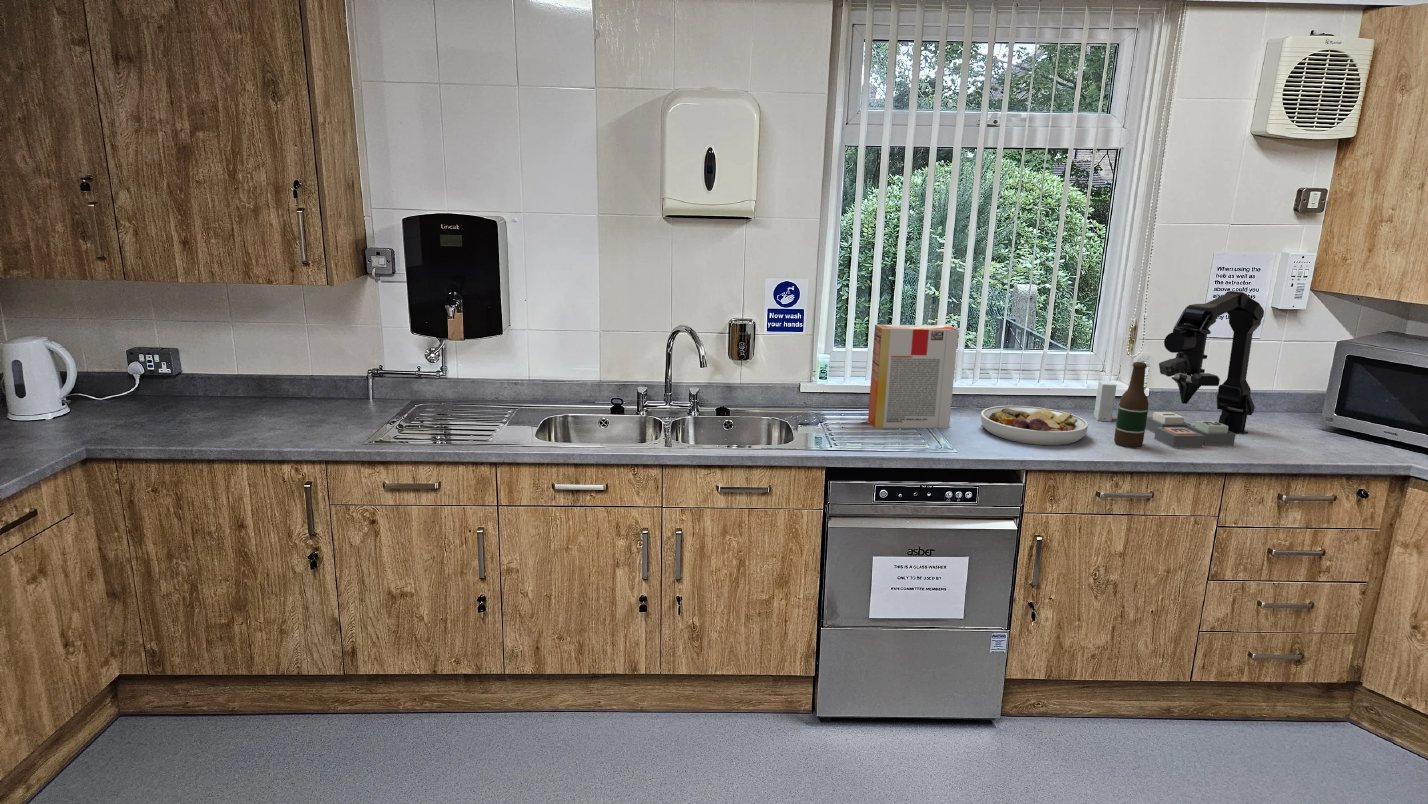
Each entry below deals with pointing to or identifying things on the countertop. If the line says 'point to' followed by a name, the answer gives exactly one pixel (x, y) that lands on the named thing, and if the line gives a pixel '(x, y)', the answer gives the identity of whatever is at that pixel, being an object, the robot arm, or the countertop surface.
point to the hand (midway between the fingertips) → (1184, 403)
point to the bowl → (1033, 425)
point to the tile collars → (1188, 440)
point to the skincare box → (1105, 400)
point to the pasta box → (912, 376)
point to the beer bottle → (1132, 411)
